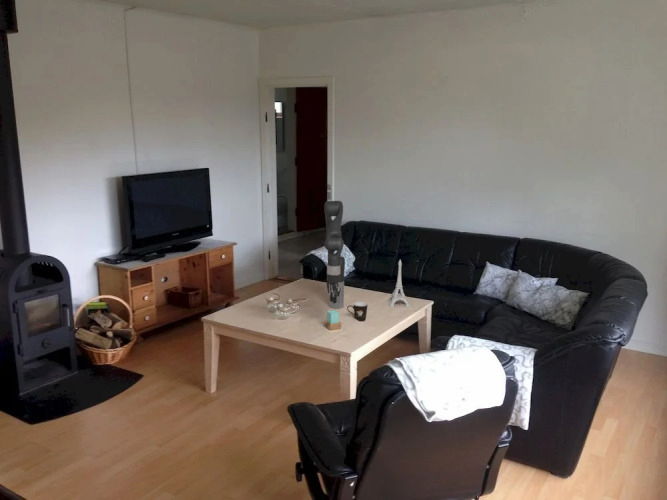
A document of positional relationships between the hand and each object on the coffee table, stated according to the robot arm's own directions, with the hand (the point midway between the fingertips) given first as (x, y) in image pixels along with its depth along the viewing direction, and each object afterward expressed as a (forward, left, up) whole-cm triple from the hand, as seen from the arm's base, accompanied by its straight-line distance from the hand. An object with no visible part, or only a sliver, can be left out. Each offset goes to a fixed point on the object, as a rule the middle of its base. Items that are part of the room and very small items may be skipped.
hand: (333, 302), depth 341 cm
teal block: (0, 0, -12) cm, 12 cm away
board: (-3, 0, -17) cm, 17 cm away
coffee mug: (-11, +23, -17) cm, 31 cm away
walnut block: (0, 0, -16) cm, 16 cm away
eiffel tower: (-27, +63, -18) cm, 71 cm away
